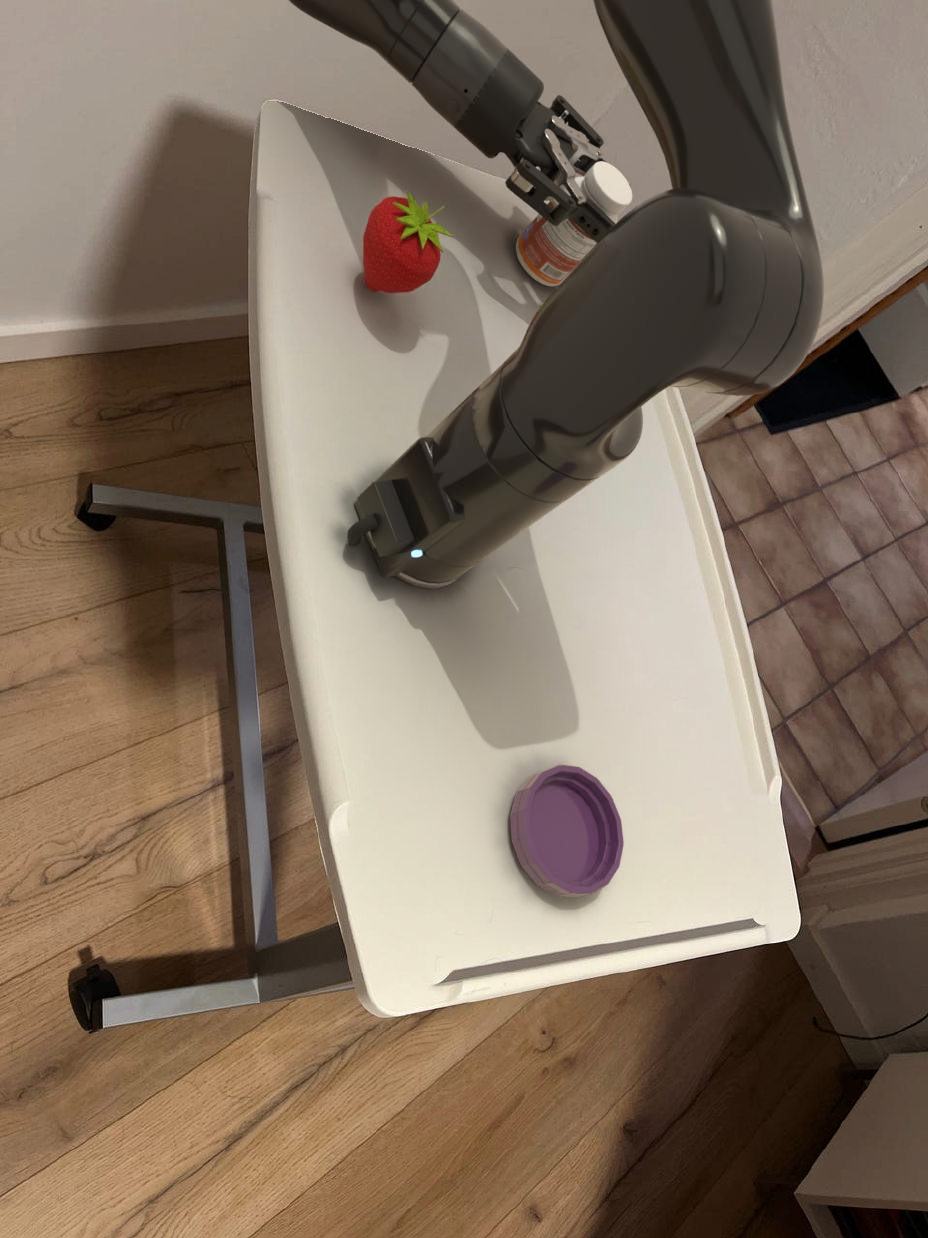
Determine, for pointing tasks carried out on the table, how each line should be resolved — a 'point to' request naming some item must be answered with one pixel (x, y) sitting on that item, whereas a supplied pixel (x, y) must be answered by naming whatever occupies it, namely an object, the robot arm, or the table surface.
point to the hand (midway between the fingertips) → (616, 215)
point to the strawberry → (400, 246)
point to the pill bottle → (571, 228)
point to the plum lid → (566, 831)
